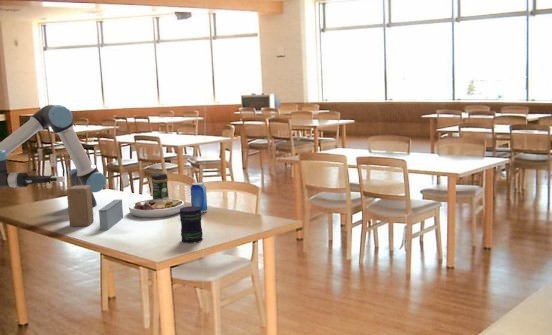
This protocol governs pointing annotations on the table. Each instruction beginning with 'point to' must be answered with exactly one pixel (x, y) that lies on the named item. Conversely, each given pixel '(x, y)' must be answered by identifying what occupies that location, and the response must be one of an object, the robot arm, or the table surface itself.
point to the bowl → (156, 208)
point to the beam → (110, 214)
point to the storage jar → (191, 224)
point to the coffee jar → (160, 186)
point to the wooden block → (80, 205)
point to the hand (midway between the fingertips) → (63, 179)
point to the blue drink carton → (199, 196)
